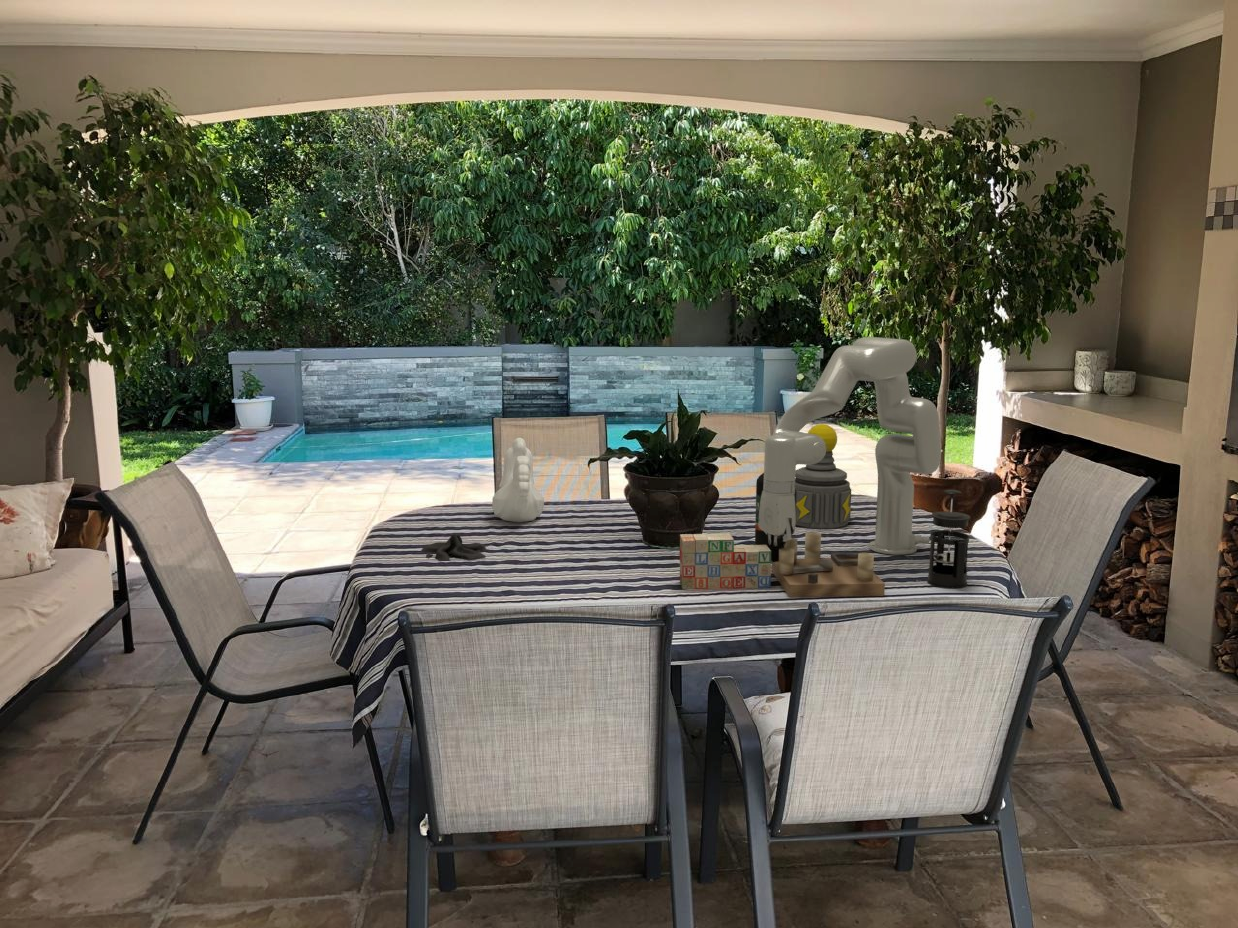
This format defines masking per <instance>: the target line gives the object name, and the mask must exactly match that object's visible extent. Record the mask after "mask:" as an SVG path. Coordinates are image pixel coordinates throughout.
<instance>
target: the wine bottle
mask: <svg viewBox="0 0 1238 928" xmlns="http://www.w3.org/2000/svg"><path fill="white" fill-rule="evenodd" d="M755 484H756V485H755V487H756V488H755V518H754V519H755V520H754V523H755V524H754V525H755V528H754V529H755V530H754V545H767V546H768V548H770V545H771V544H769V542H768V535H767V534H766V533H765V532H764V531H763V530H761V529H760V528H759V526H758V522H759V509H760V501H761V495H762V491H763V485H764V472H762V473H761V474H760V475H759V476H758V477H757V478H756V483H755Z"/></svg>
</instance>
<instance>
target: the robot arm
mask: <svg viewBox="0 0 1238 928" xmlns="http://www.w3.org/2000/svg"><path fill="white" fill-rule="evenodd" d="M917 356H918V355H917V350H916V347H915V345H914V344H913V343H912V342H911V341H909V340H907V339H902V338H890V337H876V336H875V337H874V336H873V337H872V336H871V337H870V336H866V337H861V338H858V339H856V340H855V341H854V342H853V343H852V345H851V344H850V345H842V346H840V347H838V348H836V350H834V352H833V354H832V355H831V357H830V359H829V361H828V362H827V364H826V366H825V368H824V370H823V371H822V374H821V375H820V377H819V379H818V381H817V383H816V385H815V387H814V389H813V390H812V391H811V392H810V393H808V395H806V396H804V397H803V398H801V399H800V400H799V401H797V402H796V403H795V404H793V405H792V406H791V407H789V408H788V409H787V410H786V411H785V412H784V413H783V415H781V417H780V419H779V421H778V422H777V424H776V426H775V428H774V431H773V433H772V435H769V436H767V437H766V439H765V441H764V461H763V463H764V464H763V466H764V467H763V473H764V485H763V491H762V495H761V501H760V509H759V522H758V526H759V528H760V529H761V530H763V531H764V532H765V533H766V534H767V535H768V542H769V544H771V545H770V548H769V549H770V550H771V563H772V562H779V549H781V548H784V546H785V545H786V542H787V541H791V538H792V535H794V534H795V531H796V525H795V524H796V511H795V498H794V494H795V478H796V477H795V474H796V470H797V465H804V466H806V465H812V464H816V463H818V462H820V461H821V460H822V459H823V458H824V456H825V454H826V444H825V442H824V440H823V439H822V438H821V437H819V436H817V435H814V434H809V433H808V432H803V431H802V429H803V428H804V427H805V426H806V425H808V424H810V423H811V422H813V421H816V420H817V419H820V418H824V417H827V416H830V415H832V414H836V413H838V412H839V411H841V410H842V409H843V408H844V407H845V405H846V403H847V401H848V399H849V397H850V395H851V394H852V391H853V390H854V388H855V386H856V384H857V382H859V381H861V382H862V381H865V382H866V381H867V382H873V384H874V389H875V397H876V400H875V401H876V409H877V418H878V423H879V426H880V427H881V428H883V429H884V430H886V431H889V432H895V433H889V434H885V435H883V436H882V437H880V438H879V439H878V441H877V442H876V445H875V449H874V450H875V451H874V452H875V453H874V456H875V460H876V467H877V494H876V514H875V515H876V516H875V517H876V518H875V534H874V535H875V538H874V540H873V541H870V542H869V543H868V548H869V549H870V550H871V551H873V552H875V553H879V554H885V555H894V556H895V555H896V556H899V555H900V556H901V555H911V554H914V553H916V552H917V550H918V546H917V545H918V544H930V536H928V535H927V536H925V535H924V536H923V535H922V534H921V535H920V534H919V535H918V534H916V535H915V534H914V533H913V517H914V516H913V515H914V497H915V496H914V495H915V485H914V480H913V478H912V475H911V474H912V473H913V474H919V475H931V474H933V473H935V472H936V471H937V470H938V468H939V467H940V464H941V459H942V444H941V443H942V442H941V428H940V416H939V412H938V409H937V406H936V405H935V404H934V402H933V401H931V400H929V399H928V398H927V399H926V398H921V397H913V396H912V395H911V393H910V387H909V380H908V379H909V378H908V376H907V373H908V372H909V371H911V369H913V367H914V365H915V363H916V361H917ZM898 433H900V434H898ZM901 433H902V434H901ZM907 434H911V435H907Z"/></svg>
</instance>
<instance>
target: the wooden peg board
mask: <svg viewBox="0 0 1238 928" xmlns="http://www.w3.org/2000/svg"><path fill="white" fill-rule="evenodd" d="M784 548H791V549H794V567H799V566H812V565H820V560H831V561H833V570H832V571H817V572H806V573H794V574H789V575H785V574H780V573H779V572H778V571H779V562H772V561H771V573H773V575H774V576H775V578H776V579H777V581H778V582H779V583H780V585H781V587H782V589H783V590H784V592H785V593H786V594H787V596H788V597H789V598H817V597H818V598H822V597H823V598H825V597H827V598H829V597H837V598H838V597H839V598H840V597H885V593H886V591H885V587H886V584H885V582H884V581H883V580H882V579H881V578H880V577H879V576H878V575H877V574H876V572H874V564H875V563H874V559H875V554H874V553H871V552H858V553H857V552H855V553H853V552H851V553H848V552H847V553H845V552H844V553H830V557H828V558H826V557H824V558H823V557H822V558H821V557H820V558H805V557H804V558H798V538H796V537H791V541H787V542H786V545H785V546H784Z"/></svg>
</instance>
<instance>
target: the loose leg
mask: <svg viewBox="0 0 1238 928" xmlns="http://www.w3.org/2000/svg"><path fill="white" fill-rule="evenodd" d="M804 539H805V540H804V558H821V551H822V550H821V548H822V533H821V532H819V531H806V532H805V538H804Z"/></svg>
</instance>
